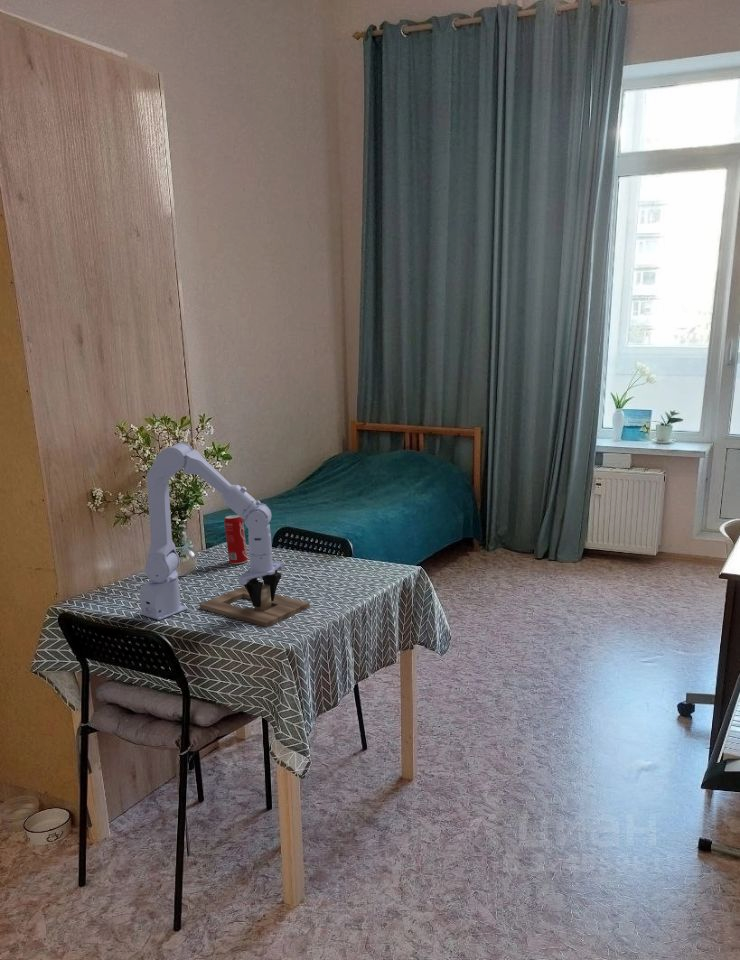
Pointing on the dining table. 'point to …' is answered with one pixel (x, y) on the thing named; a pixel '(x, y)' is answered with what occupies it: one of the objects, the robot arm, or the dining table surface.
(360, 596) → the dining table surface
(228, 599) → the keyhole plate
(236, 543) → the beverage can
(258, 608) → the birch peg
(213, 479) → the robot arm
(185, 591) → the dining table surface
